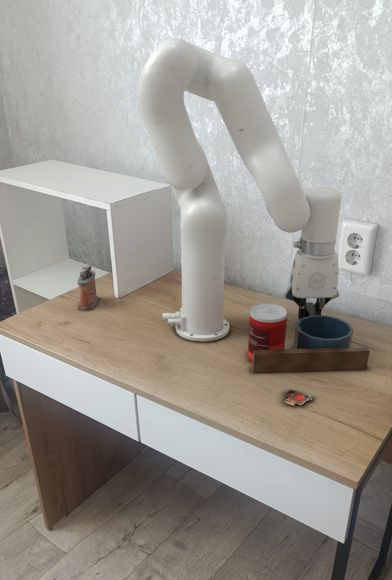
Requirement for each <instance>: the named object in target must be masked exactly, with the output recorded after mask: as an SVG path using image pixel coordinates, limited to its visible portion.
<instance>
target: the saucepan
mask: <svg viewBox="0 0 392 580" xmlns="http://www.w3.org/2000/svg"><path fill="white" fill-rule="evenodd" d="M306 308H307V317H304V318H301V319H300V320H299V319H298V321H297V322H296V324H295V328H294V339H293V340H294V341H293V349H314V348H352V341H353V334H354V328H353V327H352V325H351V324H350V322H347V321H345V320H344V319H341V318H339V317H336V316H331V315H324V314H321V315H319V313H318V311H317V310H316V308H315V306H314V303H313V301H310V302H309V301H308V302H307V301H306Z"/></svg>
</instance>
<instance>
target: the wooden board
mask: <svg viewBox="0 0 392 580" xmlns="http://www.w3.org/2000/svg"><path fill="white" fill-rule="evenodd" d="M370 351H371V350H370V349H369V348H368V347H367V346H360V347H359V346H358V347H357V346H355V347H354V346H353V347H352V346H351V348H314V349H294V348H284V349H277V350H253V362H251V363H252V364H251V370H252V373H253V374H260V373H261V374H264V373H266V374H267V373H295V372H298V373H299V372H300V373H301V372H329V371H330V372H331V371H334V372H335V371H337V372H338V371H366V370H367V367H368V363H369V357H370Z"/></svg>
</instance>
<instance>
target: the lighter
mask: <svg viewBox="0 0 392 580" xmlns="http://www.w3.org/2000/svg"><path fill="white" fill-rule="evenodd" d="M96 285H97V284H96V271H94V270H92V264H85V265H83V266H82V268H81V270H80V271H79V276H78V278H77V286H78V292H79V301H80V304H79V306H80V307H79V308H80V310H81V311H84V312H85V311H86V312H87V311H90V310H91V309H93V308H95V306H96V305H97V303H98V299H99V297H98V294H97V287H96Z"/></svg>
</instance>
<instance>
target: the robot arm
mask: <svg viewBox="0 0 392 580" xmlns="http://www.w3.org/2000/svg"><path fill="white" fill-rule="evenodd" d="M185 92H187V93H189V94H191V95H195V96H197V97H200V98H202V99H205V100H207V101H211V102H214V104H215V106H216V108H217V110H218V112H219V114H220V117H221V120H222V121H223V123H224V125H225V127H226V130H227V132H228V134H229V136H230V138H231V140H232V142H233V144H234V147H235V149H236V151H237V153H238V155H239V156H240V159H241V161H242V163H243V165H244V166H245V168H246V169H247V171H248V172H249V173H250V175H251V177H252V178H253V180H254V181H255V183H256V185H257V188H258V190H259V191H260V193H261V196H262V198H263V200H264V202H265V207H266V210H267V213H268V214H269V216H270V218H271V219H272V221H273V222H274V224H275V226H276V227H277V228H278V229H279V230H281V231H282V232H283V233H284V232H285V233H292V234H293V233H297V232H300V231H301V232H300V236H299V239H298V240H297V241H293V248H295V249H296V252H295V255H294V258H293V262H292V266H291V272H290V278H289V285H288V287H287V288H286V290H285V292H284V295H283V296H284V298H285V299H287V300H289V301H292V302H293V303H295V304H296V306H298V312H297V319H298V321H299V320H300V319H301V318H304V317H307V308H306V302H307V299H315V303H313V305H314V306H315V308H316V310H317V311H318V313H319V315H322V311H323V309H324V308H325V306H326V305H327V304H328V303H330V301H333V300H335V299H337V298H339V297H340V291H339V290H338V288H339V273H340V271H339V270H340V269H339V266H340V264H339V253H338V252H337V251H336V242H337V234H338V228H339V219H340V212H341V204H342V194H341V192H340V191H339V190H338V189H336V188H333V187H328V186H327V187H326V186H316V187H302V185H301V182H300V180H299V178H298V176H297V174H296V171H295V169H294V167H293V165H292V163H291V161H290V158H289V156H288V154H287V152H286V151H287V150H286V148H285V146H284V144H283V142H282V139H281V137H280V134H279V133H278V132H279V131H278V129H277V128H276V126H275V124H274V121H273V119H272V117H271V114H270V112H269V109H268V107H267V104H266V102H265V100H264V98H263V94H262V93H261V90H260V88H259V85H258V83H257V81H256V79H255V76H254V74H253V73H252V71H251V70H250V68H249V67H248V66H247V65H246V64H245V63H243V62H241V61H238V60H234V59H231V58H228V57H226V56H222V55H220V54H217V53H215V52H213V51H209V50H207V49H205V48H202V47H200V46H198V45H196V44H194V43H191V42H188V41H187V40H184V39H183V38H179V37H168V38H166V39H164V40H162V41H161V42H160V43H159V44H158V45H157V46H156V47H155V48H154V49H153V51H152V53H151V54H150V56H149V57H148V59H147V61H146V62H145V64H144V66H143V68H142V70H141V73H140V76H139V80H138V85H137V102H138V107H139V111H140V115H141V118H142V120H143V123H144V126H145V129H146V131H147V134H148V135H149V140H150V142H151V145H152V147H153V150H154V152H155V155H156V157H157V159H158V163H159V165H160V170H161V174H162V175H163V177H164V180H165V181H166V182H167V183H168V185H169V186H170V187H171V190H172V193H173V195H174V197H175V200H176V202H177V204H178V207H179V214H180V267H181V307H180V308H179V311H175V312H162V314H161V315H162V322H167V325H168V326H173V325H175V332H176V334H177V335H178V336H179V337H181V338H183V339H185V340H187V341H188V340H189V341H193V342H199V343H200V342H202V343H204V342H205V343H207V342H213V341H217V340H220V339H222V338H225V337H226V336H227V335H228V334H229V333H230V330H231V329H230V323H229V322H228V320H226V319H225V318H224V301H225V299H224V297H225V296H224V295H225V265H226V263H225V262H226V245H227V244H226V242H227V233H228V232H227V231H228V213H227V210H226V206H225V203H224V201H223V199H222V195H221V194H220V193H221V192H220V190H219V188H218V185H217V183H216V180H215V177H214V175H213V172H212V169H211V166H210V163H209V161H208V158H207V155H206V153H205V150H204V148H203V145H201V143H200V142H199V141H198V139H197V136H196V134H195V131H194V128H193V126H192V122H191V120H190V117H189V114H188V111H187V107H186V105H185Z"/></svg>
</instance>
